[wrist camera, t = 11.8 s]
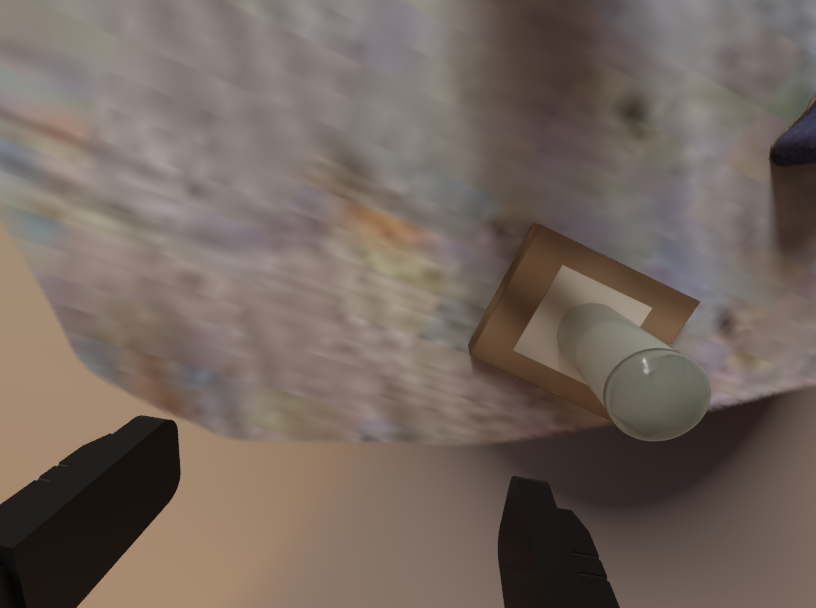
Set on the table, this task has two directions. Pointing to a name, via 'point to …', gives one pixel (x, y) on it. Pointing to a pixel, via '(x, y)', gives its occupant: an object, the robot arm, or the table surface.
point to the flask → (797, 140)
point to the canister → (634, 373)
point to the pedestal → (554, 297)
